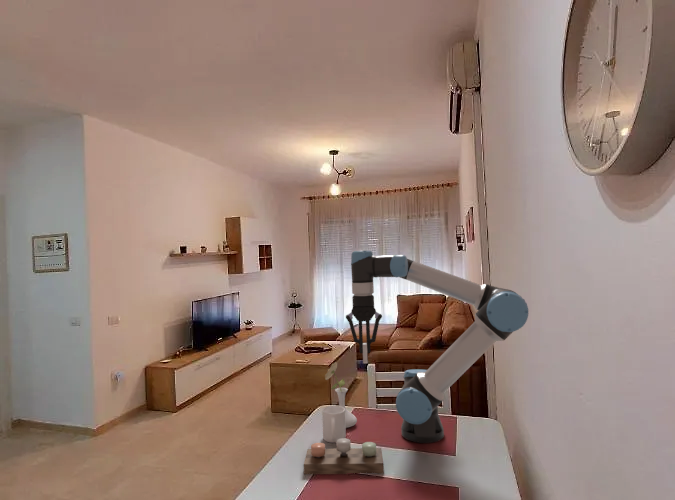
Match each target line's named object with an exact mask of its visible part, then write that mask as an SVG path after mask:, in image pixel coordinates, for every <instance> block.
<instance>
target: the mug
mask: <svg viewBox="0 0 675 500" xmlns="http://www.w3.org/2000/svg"><path fill="white" fill-rule="evenodd" d="M345 408H346V407H345ZM345 408H344V407H341V406H339V405H329V406H325V407H323V408H322V411H321V413H322V414H321V415H322V417H321V418H322V419H321V420H322V438H323V440H324V441H325V442H326V443H332V444H336V441H337V440H338V439H341V438H346V437H347V436H346V435H347V433H346V432H347V431H346V429H347V428H346V425H345Z"/></svg>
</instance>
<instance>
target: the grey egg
mask: <svg viewBox="0 0 675 500" xmlns="http://www.w3.org/2000/svg"><path fill="white" fill-rule="evenodd" d="M335 444H336V449H337V451H339V452H341V455H342V456H346V452H348V451H350V450H351V448H352V447H351V440H350V438H346V437H345V438H341V439H338V440H337V441H336V443H335Z"/></svg>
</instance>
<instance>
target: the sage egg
mask: <svg viewBox="0 0 675 500" xmlns="http://www.w3.org/2000/svg"><path fill="white" fill-rule="evenodd" d="M361 448H362V454H363V455H365V456H367V457H372V456H374V455H376V448H377V444H376V442H372V441H366V442H363V443H362V444H361Z"/></svg>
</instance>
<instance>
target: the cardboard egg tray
mask: <svg viewBox="0 0 675 500" xmlns="http://www.w3.org/2000/svg"><path fill="white" fill-rule="evenodd" d="M384 465H385V464H384V459H383V450H382V447H376V455H374V456H372V457H367V456H365V455H363V454H362V447H360V448H359V447H356V448H353V447H351V450H350V451H348V452H346V456H342V455H341V452H339V451H337V448H325V455H324V456H321V458H316V457H314V456H312V455H311V448H308V449H307V450H306V454H305V458H304V462H303V474H304V475H348V474H347V473H354V474H355V473H377V474H384V473H385V469H384ZM354 474H353V475H354ZM355 475H356V474H355Z"/></svg>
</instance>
